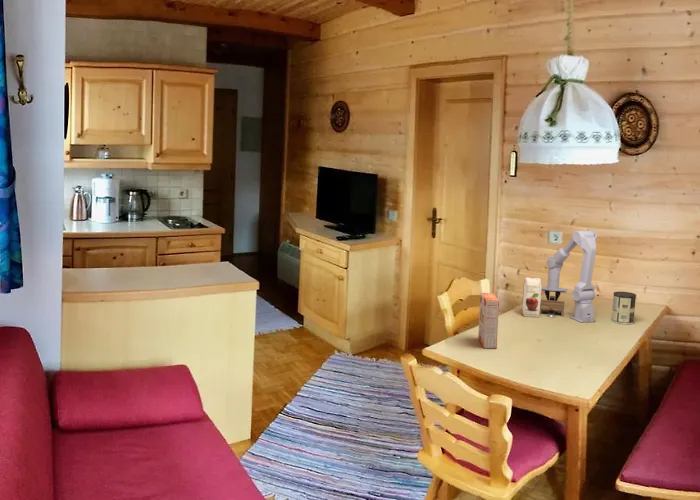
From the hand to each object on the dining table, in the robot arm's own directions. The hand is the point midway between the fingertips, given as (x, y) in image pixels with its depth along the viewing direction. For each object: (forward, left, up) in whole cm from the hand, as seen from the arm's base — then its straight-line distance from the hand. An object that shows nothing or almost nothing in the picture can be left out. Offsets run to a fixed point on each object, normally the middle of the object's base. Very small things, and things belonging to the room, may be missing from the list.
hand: (551, 305), depth 347 cm
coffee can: (-29, -22, -2) cm, 36 cm away
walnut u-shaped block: (-9, +5, -2) cm, 10 cm away
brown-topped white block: (-6, +3, -2) cm, 7 cm away
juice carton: (-11, +18, -2) cm, 21 cm away
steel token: (-14, +8, -2) cm, 16 cm away
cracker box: (-52, +61, -2) cm, 80 cm away
